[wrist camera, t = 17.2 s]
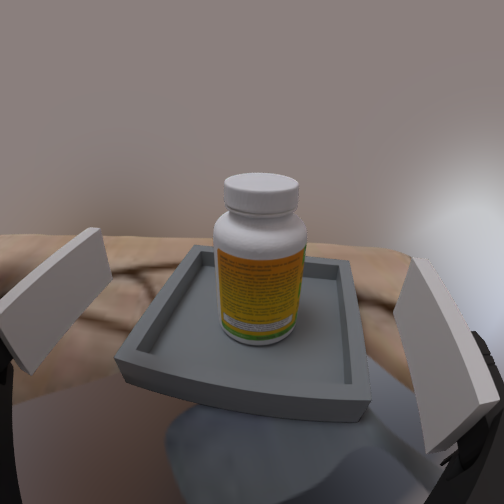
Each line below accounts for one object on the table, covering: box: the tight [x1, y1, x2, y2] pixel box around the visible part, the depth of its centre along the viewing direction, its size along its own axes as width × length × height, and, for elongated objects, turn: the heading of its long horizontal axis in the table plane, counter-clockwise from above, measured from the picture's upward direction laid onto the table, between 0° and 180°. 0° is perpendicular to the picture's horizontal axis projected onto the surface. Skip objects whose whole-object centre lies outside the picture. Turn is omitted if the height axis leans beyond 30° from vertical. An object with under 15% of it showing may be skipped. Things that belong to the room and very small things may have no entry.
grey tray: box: [114, 245, 372, 422], centre depth 19 cm, size 14×14×2 cm
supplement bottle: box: [213, 173, 307, 345], centre depth 17 cm, size 5×5×10 cm
